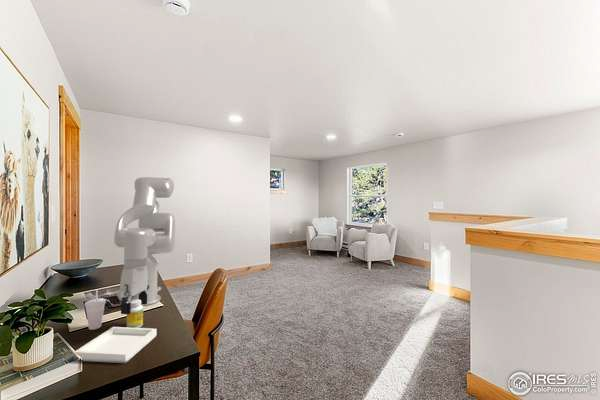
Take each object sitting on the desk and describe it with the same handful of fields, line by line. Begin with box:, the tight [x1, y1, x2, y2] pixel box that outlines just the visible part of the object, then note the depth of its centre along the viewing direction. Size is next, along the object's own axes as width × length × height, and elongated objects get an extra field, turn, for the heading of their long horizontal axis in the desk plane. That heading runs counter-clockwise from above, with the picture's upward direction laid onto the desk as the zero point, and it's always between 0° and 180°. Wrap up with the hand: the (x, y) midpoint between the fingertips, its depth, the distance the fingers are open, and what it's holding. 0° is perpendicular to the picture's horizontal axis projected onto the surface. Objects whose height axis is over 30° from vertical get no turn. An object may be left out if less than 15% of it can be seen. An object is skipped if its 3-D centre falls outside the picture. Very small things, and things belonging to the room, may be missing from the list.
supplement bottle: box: [126, 299, 144, 328], centre depth 103 cm, size 5×5×10 cm
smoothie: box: [84, 289, 107, 331], centre depth 102 cm, size 6×6×14 cm
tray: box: [74, 326, 158, 364], centre depth 89 cm, size 16×16×2 cm
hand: (134, 308), depth 102 cm, fingers open, 9 cm apart
